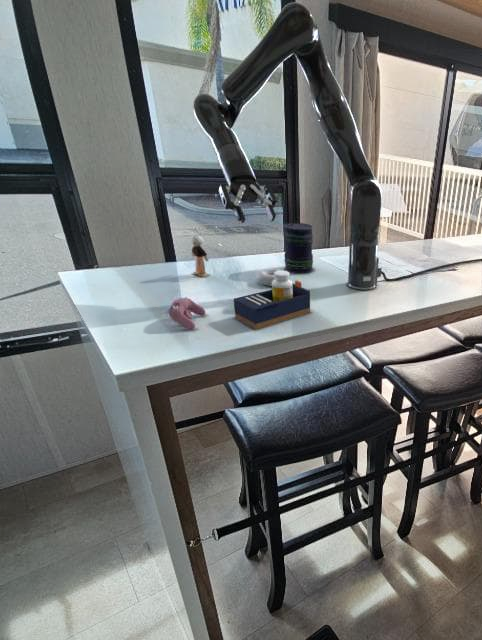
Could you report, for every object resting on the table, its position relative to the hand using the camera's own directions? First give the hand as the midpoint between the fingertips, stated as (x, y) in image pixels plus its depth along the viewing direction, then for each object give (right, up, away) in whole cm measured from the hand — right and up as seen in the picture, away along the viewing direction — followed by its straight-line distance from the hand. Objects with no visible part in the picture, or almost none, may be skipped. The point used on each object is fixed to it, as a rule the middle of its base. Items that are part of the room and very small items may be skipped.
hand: (258, 220), depth 114 cm
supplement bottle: (+6, -23, +3) cm, 24 cm away
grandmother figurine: (-26, -9, +22) cm, 35 cm away
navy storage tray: (+4, -25, +2) cm, 26 cm away
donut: (-3, -11, +23) cm, 26 cm away
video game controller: (-15, -29, -7) cm, 33 cm away
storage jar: (+2, -3, +37) cm, 38 cm away
